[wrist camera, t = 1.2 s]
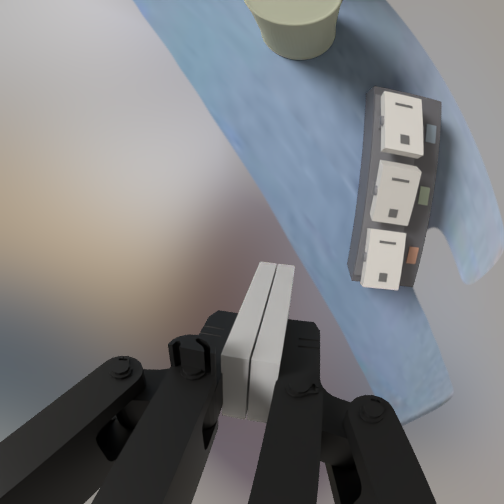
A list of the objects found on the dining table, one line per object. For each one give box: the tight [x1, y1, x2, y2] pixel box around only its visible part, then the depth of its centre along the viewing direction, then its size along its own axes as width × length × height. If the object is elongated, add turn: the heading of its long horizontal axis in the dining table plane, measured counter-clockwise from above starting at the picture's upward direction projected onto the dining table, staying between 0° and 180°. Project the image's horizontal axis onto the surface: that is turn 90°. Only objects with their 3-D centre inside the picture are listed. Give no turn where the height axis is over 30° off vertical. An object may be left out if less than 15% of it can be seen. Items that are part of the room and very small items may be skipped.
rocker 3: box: [360, 228, 406, 290], centre depth 29 cm, size 6×4×2 cm
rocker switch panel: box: [347, 86, 441, 287], centre depth 31 cm, size 22×8×6 cm, turn 177°
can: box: [244, 0, 342, 60], centre depth 23 cm, size 9×9×12 cm
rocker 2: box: [370, 160, 422, 226], centre depth 27 cm, size 6×4×2 cm
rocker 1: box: [380, 91, 424, 159], centre depth 24 cm, size 6×4×2 cm
